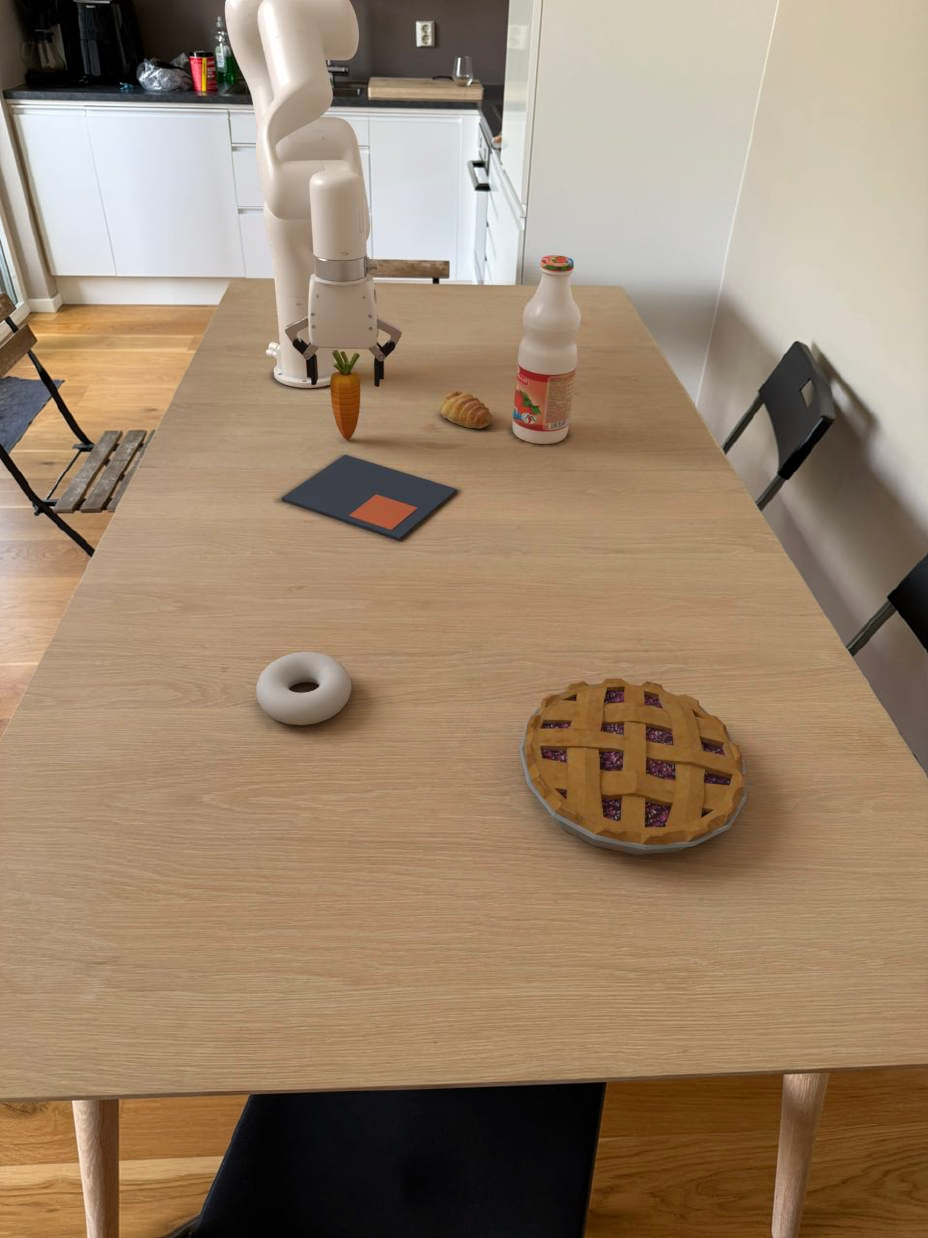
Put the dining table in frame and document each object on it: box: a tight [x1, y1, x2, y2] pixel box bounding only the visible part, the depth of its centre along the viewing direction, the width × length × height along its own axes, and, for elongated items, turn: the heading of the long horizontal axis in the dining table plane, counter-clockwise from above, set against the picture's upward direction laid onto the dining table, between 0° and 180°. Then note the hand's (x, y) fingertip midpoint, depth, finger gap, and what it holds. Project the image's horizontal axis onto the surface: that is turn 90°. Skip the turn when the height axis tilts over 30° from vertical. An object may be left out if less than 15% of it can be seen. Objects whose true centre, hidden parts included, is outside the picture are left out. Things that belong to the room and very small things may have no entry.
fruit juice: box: [511, 254, 582, 445], centre depth 140 cm, size 9×9×28 cm
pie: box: [519, 678, 747, 856], centre depth 86 cm, size 22×22×5 cm
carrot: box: [329, 349, 361, 442], centre depth 139 cm, size 5×5×15 cm
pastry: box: [439, 390, 493, 430], centre depth 151 cm, size 9×7×4 cm
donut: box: [255, 651, 353, 726], centre depth 94 cm, size 10×4×10 cm
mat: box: [280, 454, 458, 542], centre depth 130 cm, size 20×16×1 cm
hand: (346, 382), depth 137 cm, fingers open, 9 cm apart
